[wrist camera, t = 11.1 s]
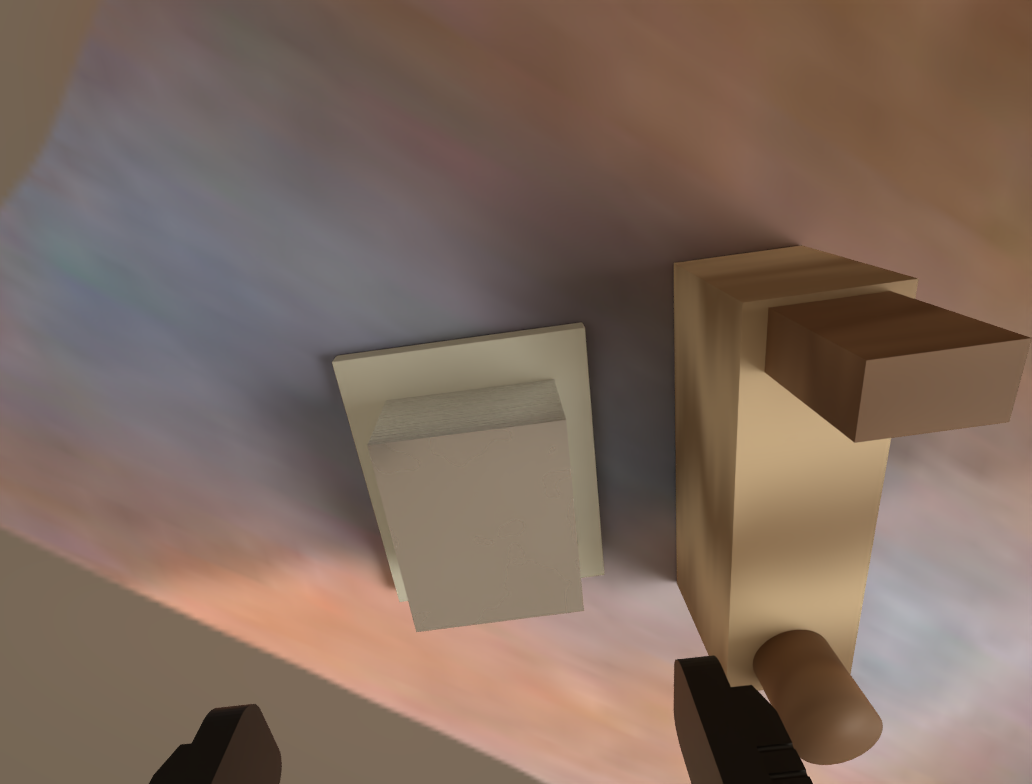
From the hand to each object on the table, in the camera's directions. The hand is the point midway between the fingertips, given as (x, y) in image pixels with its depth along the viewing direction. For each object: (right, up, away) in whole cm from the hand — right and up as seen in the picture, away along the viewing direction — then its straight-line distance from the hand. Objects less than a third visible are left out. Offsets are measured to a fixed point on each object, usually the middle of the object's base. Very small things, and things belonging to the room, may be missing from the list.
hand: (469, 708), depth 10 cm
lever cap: (0, +3, +9) cm, 9 cm away
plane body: (+9, +5, +9) cm, 13 cm away
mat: (0, +3, +9) cm, 10 cm away
